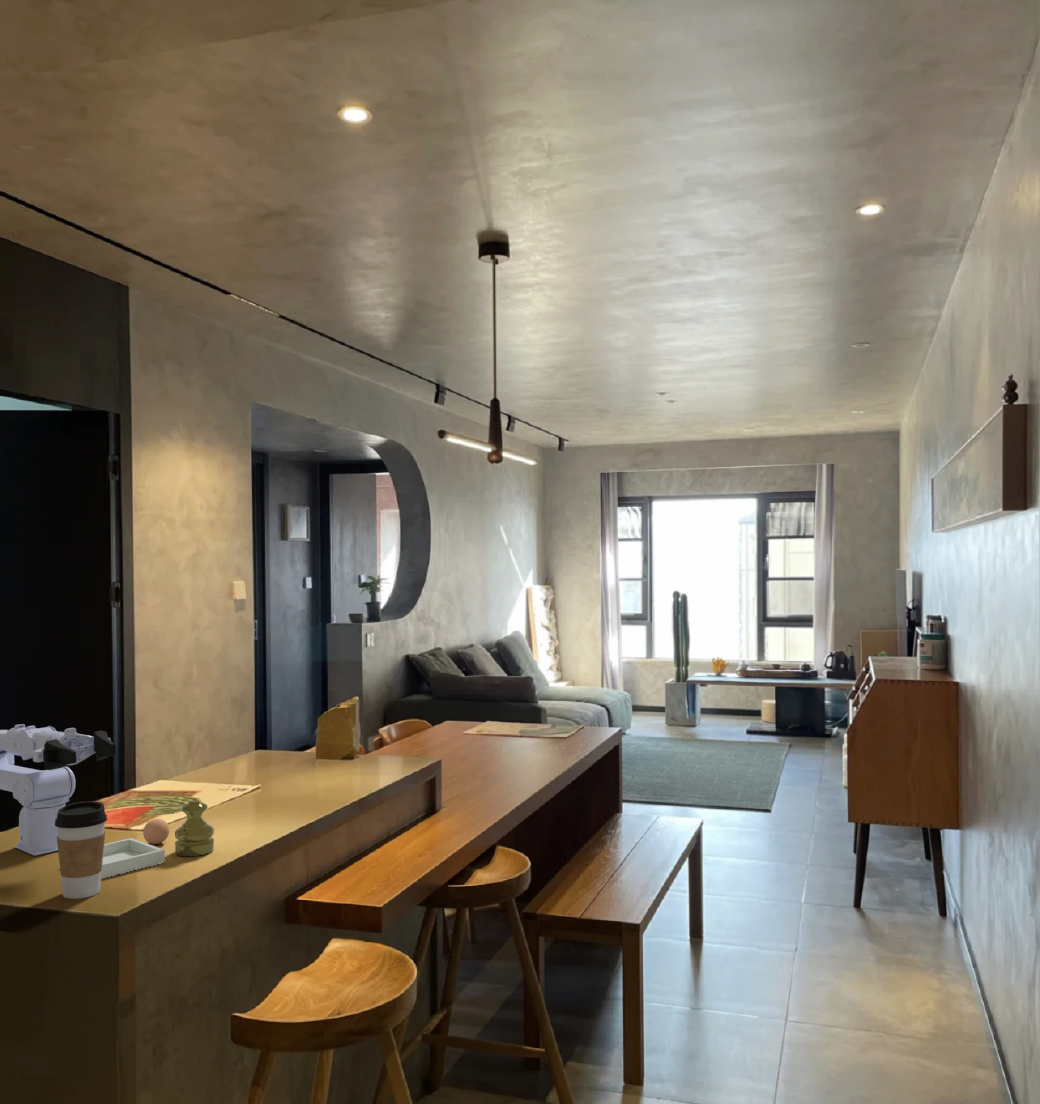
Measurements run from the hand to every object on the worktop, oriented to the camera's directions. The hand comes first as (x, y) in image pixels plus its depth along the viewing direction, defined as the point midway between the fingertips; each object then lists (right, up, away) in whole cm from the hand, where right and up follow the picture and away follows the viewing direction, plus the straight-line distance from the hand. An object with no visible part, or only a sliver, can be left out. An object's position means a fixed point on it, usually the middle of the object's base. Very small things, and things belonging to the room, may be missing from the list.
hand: (94, 753), depth 190 cm
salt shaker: (+16, -21, +9) cm, 28 cm away
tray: (+4, -21, +1) cm, 22 cm away
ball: (+6, -21, +15) cm, 27 cm away
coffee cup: (+4, -21, -15) cm, 26 cm away
